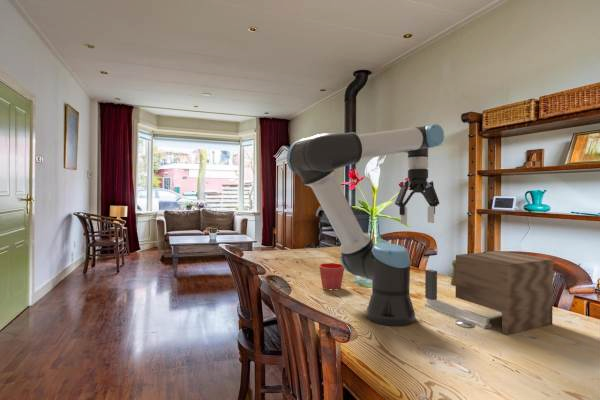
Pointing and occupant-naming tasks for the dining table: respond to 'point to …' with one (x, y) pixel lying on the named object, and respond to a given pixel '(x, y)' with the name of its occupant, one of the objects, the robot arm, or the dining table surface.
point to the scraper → (447, 308)
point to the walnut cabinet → (508, 287)
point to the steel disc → (464, 323)
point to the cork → (453, 280)
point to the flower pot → (331, 275)
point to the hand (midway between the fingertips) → (417, 223)
